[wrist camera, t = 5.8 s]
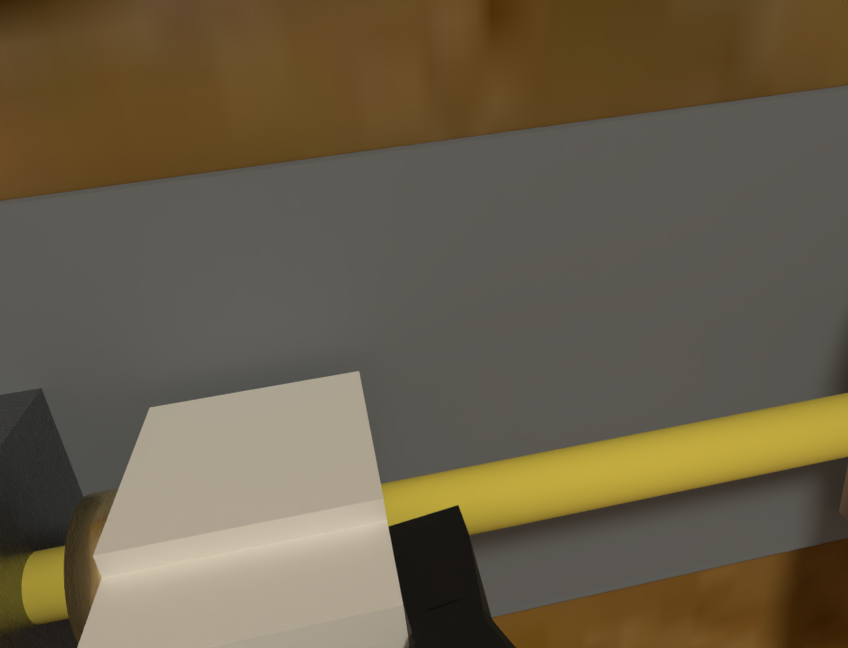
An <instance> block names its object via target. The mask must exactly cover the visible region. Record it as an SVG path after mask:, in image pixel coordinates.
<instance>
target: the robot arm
mask: <svg viewBox="0 0 848 648" xmlns="http://www.w3.org/2000/svg"><path fill="white" fill-rule="evenodd" d="M388 528H389V533H390V538H391V543H392V549H393V554H394V559H395V564H396V570H397V575H398V580H399V585H400V591H401V596H402V600H403V603H404V607H405V610H406V614H407V617H408V620H409V624H410V627H411V631H412V633H411V639H410V644H409V648H516V647H515V646H514V645H513V644H512V643H511V642H510V640H509V639H508V638H507V637H506V636H505V635H504V633H503V632H502V631H501V630H500V629H499V627H498V626H497V625H496V624H495V623H494V621H493V620H492V617H491V613H490V610H489V606H488V602H487V599H486V595H485V591H484V588H483V584H482V580H481V577H480V573H479V569H478V565H477V562H476V558H475V554H474V551H473V547H472V543H471V540H470V536H469V533H468V530H467V527H466V524H465V522H464V519H463V516H462V513H461V511H460V508H459V505H457V506H454V507H450V508H447V509H444V510H440V511H437V512H434V513H431V514H427V515H424V516H421V517H418V518H414V519H411V520H408V521H405V522H401V523H398V524H395V525H392V526H388Z"/></svg>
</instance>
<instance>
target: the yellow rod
mask: <svg viewBox="0 0 848 648" xmlns="http://www.w3.org/2000/svg"><path fill="white" fill-rule="evenodd" d="M844 457H848V393H843V394H838V395H833V396H828V397H823V398H818V399H813V400H808V401H802V402H797V403H792V404H787V405H782V406H777V407H772V408H767V409H761V410H756V411H751V412H746V413H741V414H736V415H731V416H726V417H720V418H715V419H710V420H705V421H700V422H695V423H690V424H685V425H679V426H674V427H669V428H664V429H659V430H654V431H649V432H644V433H638V434H633V435H628V436H623V437H618V438H613V439H608V440H603V441H597V442H592V443H587V444H582V445H577V446H572V447H567V448H562V449H556V450H551V451H546V452H541V453H536V454H531V455H526V456H521V457H515V458H510V459H505V460H500V461H495V462H490V463H485V464H480V465H474V466H469V467H464V468H459V469H454V470H449V471H444V472H439V473H433V474H428V475H423V476H418V477H413V478H408V479H403V480H398V481H392V482H387V483H382V484H381V488H382V493H383V498H384V504H385V510H386V517H387V522H388V526H392V525H395V524H398V523H401V522H405V521H408V520H411V519H414V518H418V517H421V516H424V515H427V514H431V513H434V512H437V511H440V510H444V509H447V508H450V507H454V506H457V505H459V508H460V511H461V513H462V516H463V519H464V522H465V524H466V527H467V530H468V533H469V535H473V534H478V533H483V532H488V531H493V530H497V529H502V528H507V527H512V526H517V525H521V524H526V523H531V522H536V521H541V520H546V519H550V518H555V517H560V516H565V515H570V514H574V513H579V512H584V511H589V510H594V509H599V508H603V507H608V506H613V505H618V504H623V503H628V502H632V501H637V500H642V499H647V498H652V497H656V496H661V495H666V494H671V493H676V492H681V491H685V490H690V489H695V488H700V487H705V486H709V485H714V484H719V483H724V482H729V481H734V480H738V479H743V478H748V477H753V476H758V475H762V474H767V473H772V472H777V471H782V470H787V469H791V468H796V467H801V466H806V465H811V464H816V463H820V462H825V461H830V460H835V459H840V458H844ZM64 552H65V546H59V547H54V548H49V549H44V550H39V551H35V552H33V553H32V554H31V555H30V557H29V558H28V560H27V562H26V564H25V567H24V571H23V576H22V600H23V605H24V608H25V611H26V614H27V616H28V618H29V619H30V620H31V621H32V622H33V623H34V624H38V625H39V624H44V623H49V622H54V621H59V620H64V619H68V618H69V616H68V612H67V606H66V599H65V590H64Z"/></svg>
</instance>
